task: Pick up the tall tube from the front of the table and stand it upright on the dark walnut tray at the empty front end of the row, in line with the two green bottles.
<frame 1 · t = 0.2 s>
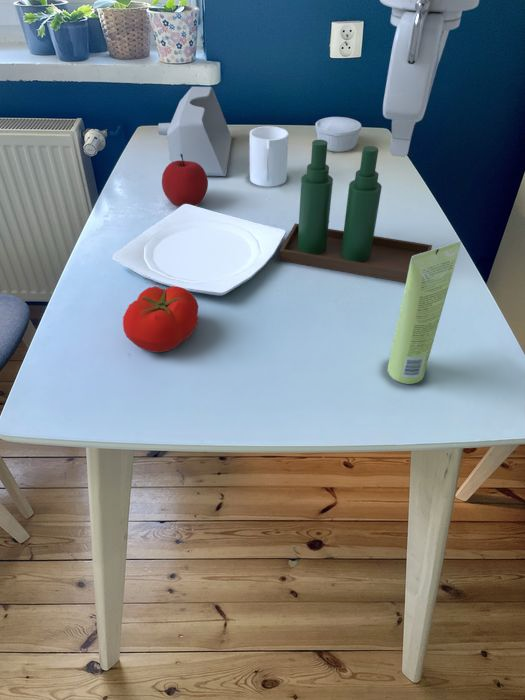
hand: (404, 137, 57), 30 cm above the table, tool pointing down, fingers open, 8 cm apart
tray: (355, 257, 96), on the table
tube: (406, 373, 74), on the table
bottle a: (355, 255, 96), resting on tray
apple: (186, 204, 111), on the table
bottle b: (311, 247, 97), resting on tray
cup: (267, 183, 119), on the table
plate: (202, 257, 96), on the table
ramekin: (336, 146, 136), on the table
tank: (195, 156, 130), on the table
tomato: (165, 335, 80), on the table
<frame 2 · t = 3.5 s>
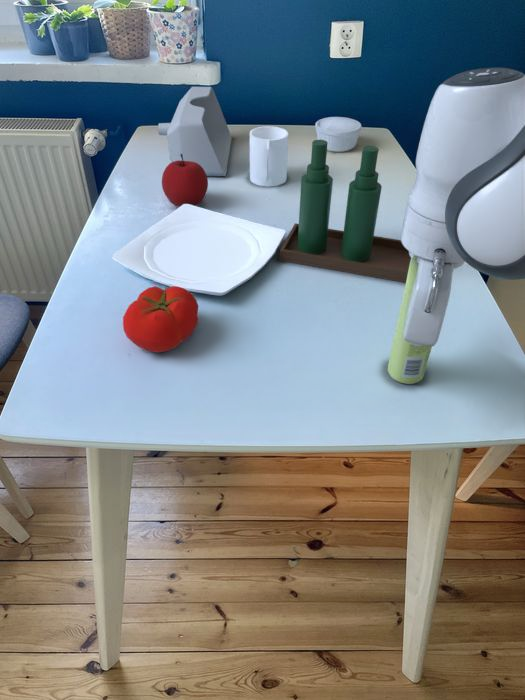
hand: (418, 326, 69), 8 cm above the table, tool pointing down, fingers closed on tube, 5 cm apart
tube: (406, 373, 74), on the table, touching gripper
everything else where it was.
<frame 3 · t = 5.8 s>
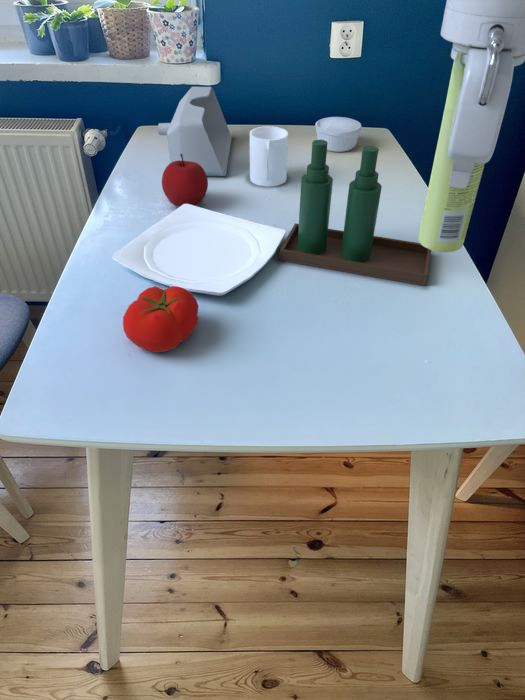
hand: (458, 172, 55), 28 cm above the table, tool pointing down, fingers closed on tube, 5 cm apart
tube: (441, 244, 61), point 20 cm above the table, touching gripper
everything else where it was.
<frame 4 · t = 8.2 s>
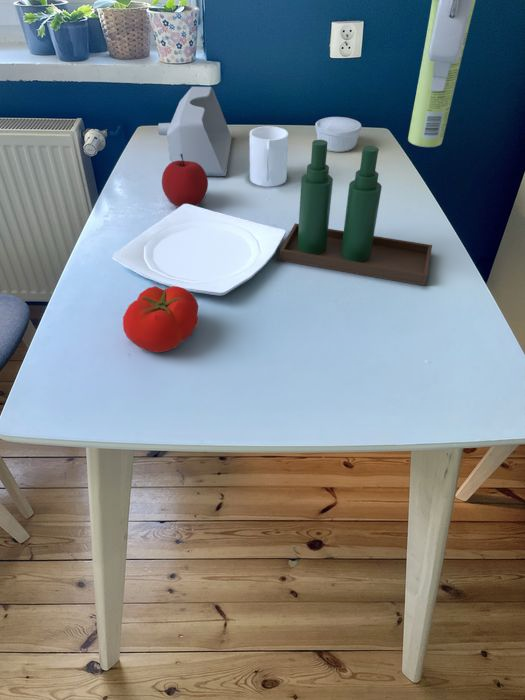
hand: (438, 82, 74), 30 cm above the table, tool pointing down, fingers closed on tube, 5 cm apart
tube: (425, 143, 80), point 22 cm above the table, touching gripper
everything else where it was.
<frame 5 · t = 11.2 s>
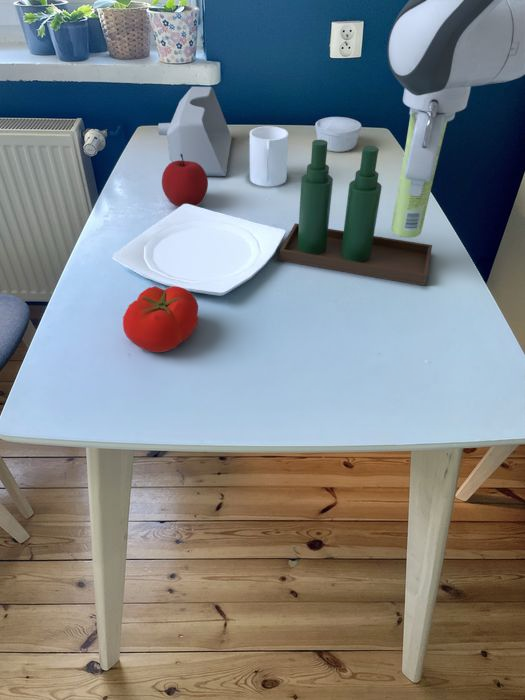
hand: (417, 184, 84), 15 cm above the table, tool pointing down, fingers closed on tube, 5 cm apart
tube: (406, 232, 90), point 7 cm above the table, touching gripper
everything else where it was.
when the fingers open (9 cm above the table, at t = 13.2 s): tube stays where it is, resting on tray.
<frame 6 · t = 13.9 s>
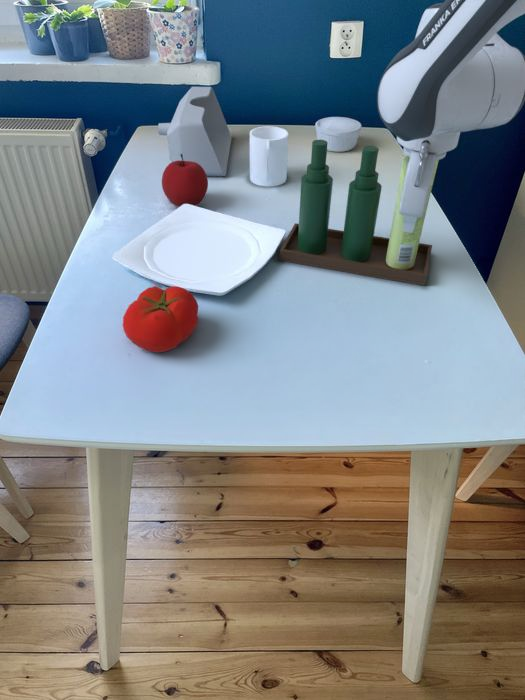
hand: (411, 216, 88), 9 cm above the table, tool pointing down, fingers open, 8 cm apart
tube: (400, 263, 94), resting on tray
everything else where it was.
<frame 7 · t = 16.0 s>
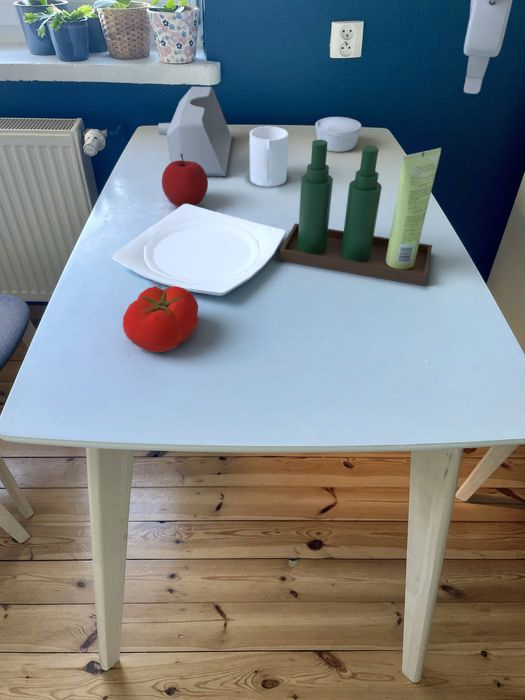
hand: (472, 81, 66), 32 cm above the table, tool pointing down, fingers open, 8 cm apart
nothing on the table moved.
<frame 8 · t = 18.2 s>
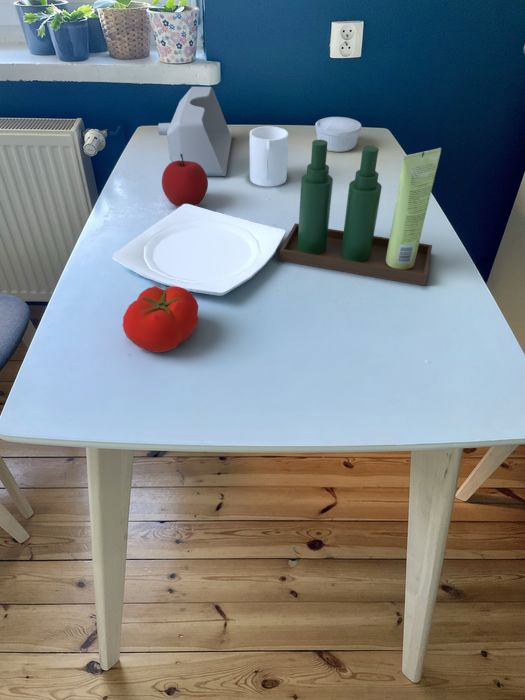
nothing on the table moved.
at the end: tube 0.1 cm from the target spot in the tray, point 0.4 cm above the tray's base; tube tilted 0° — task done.
